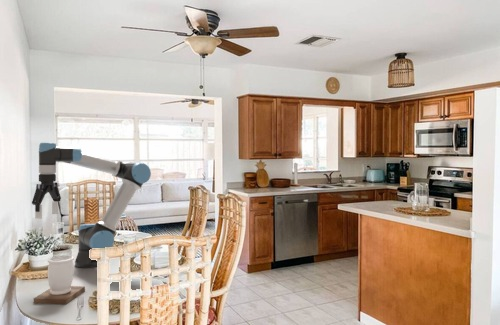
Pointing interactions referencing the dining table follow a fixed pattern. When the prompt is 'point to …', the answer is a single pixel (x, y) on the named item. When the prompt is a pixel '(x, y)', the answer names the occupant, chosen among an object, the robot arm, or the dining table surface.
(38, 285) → the dining table surface
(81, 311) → the dining table surface
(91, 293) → the dining table surface
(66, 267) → the jar
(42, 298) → the board
